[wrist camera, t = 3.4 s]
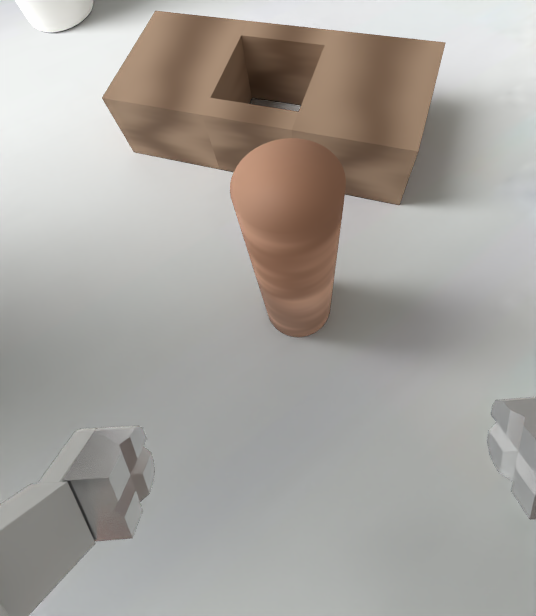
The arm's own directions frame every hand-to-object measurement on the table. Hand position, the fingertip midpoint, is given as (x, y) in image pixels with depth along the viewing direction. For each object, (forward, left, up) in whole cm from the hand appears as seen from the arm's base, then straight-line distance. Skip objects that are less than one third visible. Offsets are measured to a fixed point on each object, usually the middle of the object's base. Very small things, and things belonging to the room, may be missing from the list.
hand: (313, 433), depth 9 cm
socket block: (-9, +21, -13) cm, 27 cm away
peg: (-3, +8, -13) cm, 16 cm away
